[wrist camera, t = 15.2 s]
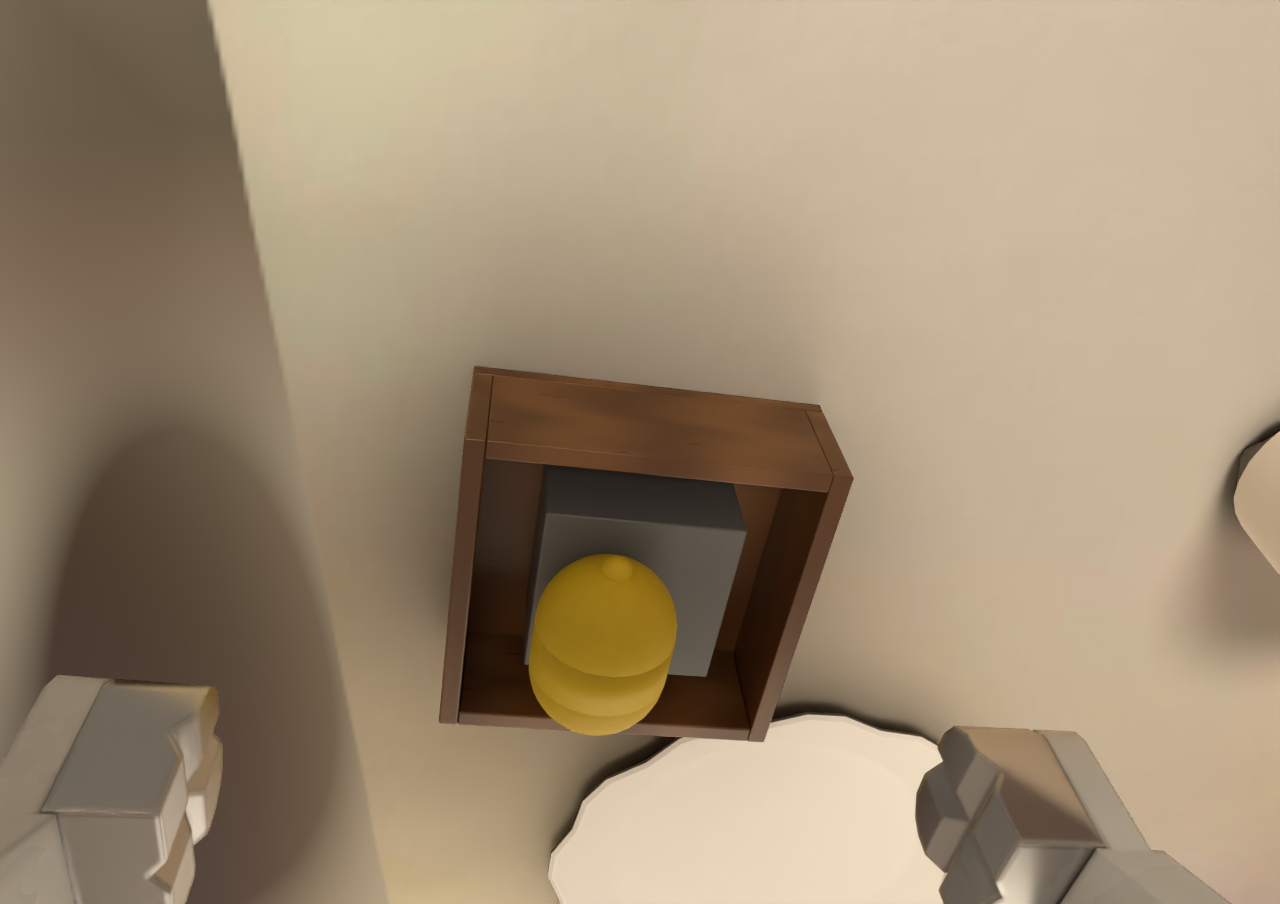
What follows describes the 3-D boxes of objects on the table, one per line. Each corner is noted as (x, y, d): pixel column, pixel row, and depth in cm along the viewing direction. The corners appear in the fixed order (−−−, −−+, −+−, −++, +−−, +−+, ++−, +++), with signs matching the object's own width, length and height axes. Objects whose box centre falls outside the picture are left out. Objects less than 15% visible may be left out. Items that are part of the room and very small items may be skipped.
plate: (841, 991, 67) (848, 1019, 65) (491, 928, 60) (489, 958, 58) (1062, 753, 55) (1077, 780, 54) (659, 642, 48) (663, 669, 47)
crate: (449, 634, 47) (438, 724, 42) (474, 365, 40) (463, 437, 35) (743, 655, 49) (764, 742, 45) (820, 404, 42) (854, 477, 37)
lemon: (673, 709, 41) (614, 797, 37) (562, 654, 43) (494, 733, 38) (714, 551, 37) (654, 631, 33) (589, 497, 38) (516, 567, 34)
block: (525, 595, 45) (523, 665, 42) (546, 450, 41) (545, 513, 37) (694, 609, 47) (706, 677, 43) (730, 469, 42) (748, 531, 39)
